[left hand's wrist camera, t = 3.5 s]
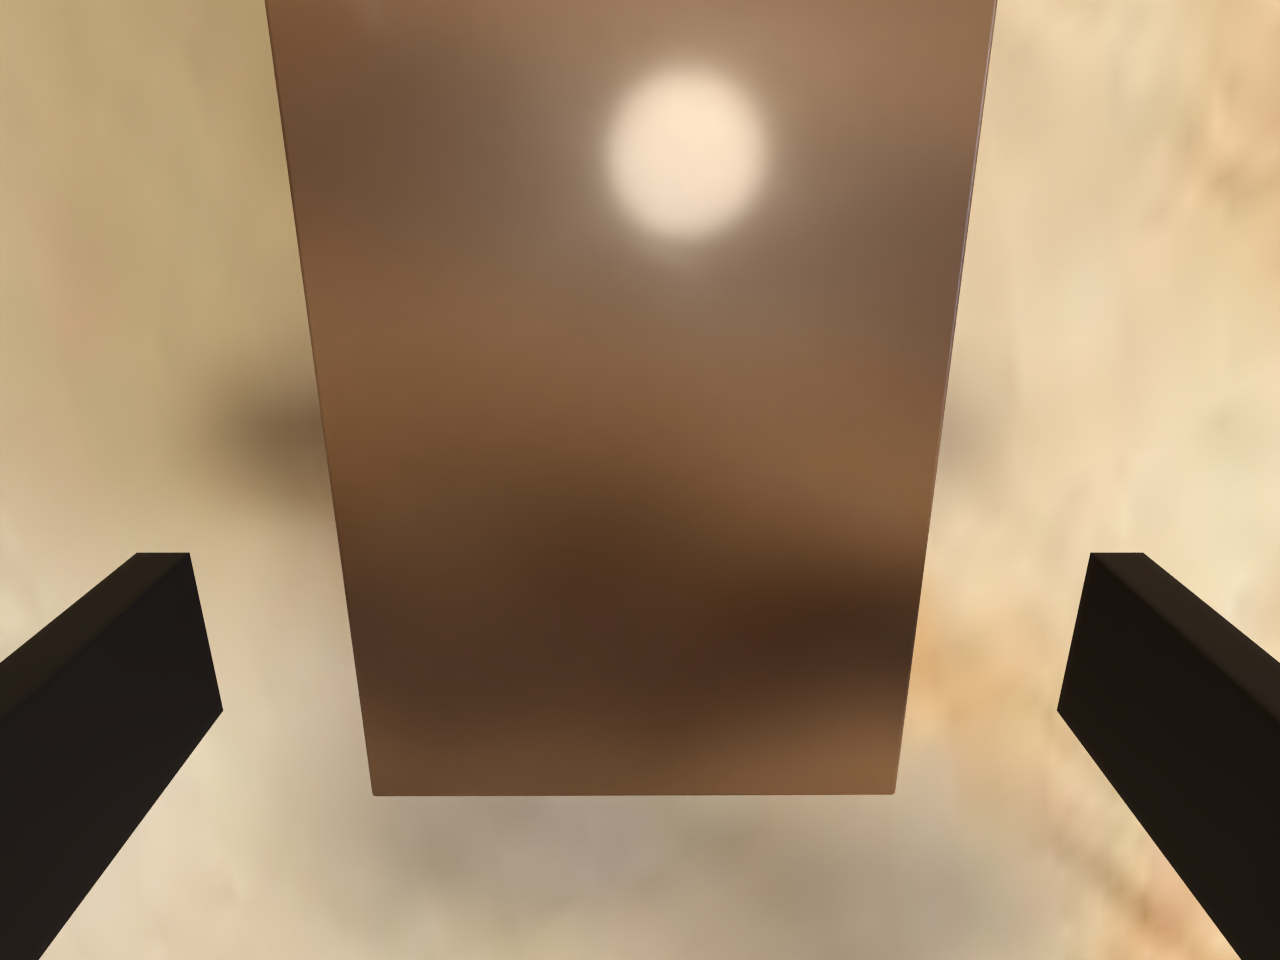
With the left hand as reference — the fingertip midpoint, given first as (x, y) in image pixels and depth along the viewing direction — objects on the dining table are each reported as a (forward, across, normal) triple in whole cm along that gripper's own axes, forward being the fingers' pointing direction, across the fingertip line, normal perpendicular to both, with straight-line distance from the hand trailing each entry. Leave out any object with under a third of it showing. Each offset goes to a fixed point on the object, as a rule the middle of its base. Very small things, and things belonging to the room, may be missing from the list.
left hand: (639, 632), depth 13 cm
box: (+12, 0, -11) cm, 16 cm away
